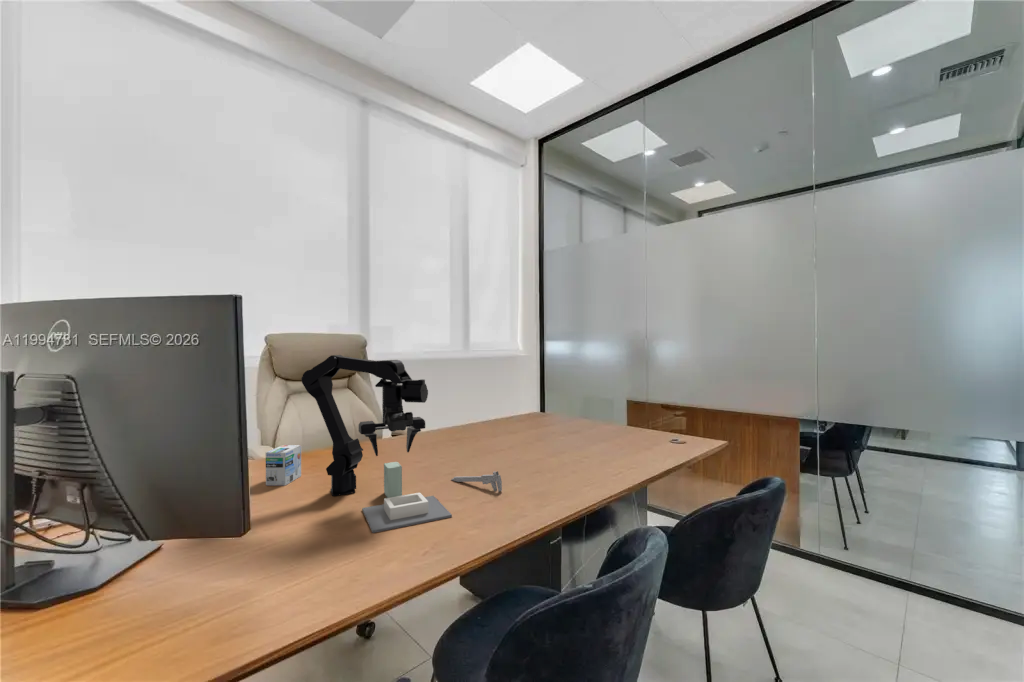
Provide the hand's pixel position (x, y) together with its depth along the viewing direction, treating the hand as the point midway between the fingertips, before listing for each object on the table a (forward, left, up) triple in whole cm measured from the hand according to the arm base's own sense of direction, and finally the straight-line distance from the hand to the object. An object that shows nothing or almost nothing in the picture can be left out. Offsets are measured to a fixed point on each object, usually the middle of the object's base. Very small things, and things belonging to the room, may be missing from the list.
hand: (392, 454), depth 130 cm
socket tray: (0, -16, -12) cm, 20 cm away
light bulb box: (-29, +31, -12) cm, 44 cm away
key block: (0, 0, -12) cm, 12 cm away
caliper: (+25, -4, -13) cm, 28 cm away
